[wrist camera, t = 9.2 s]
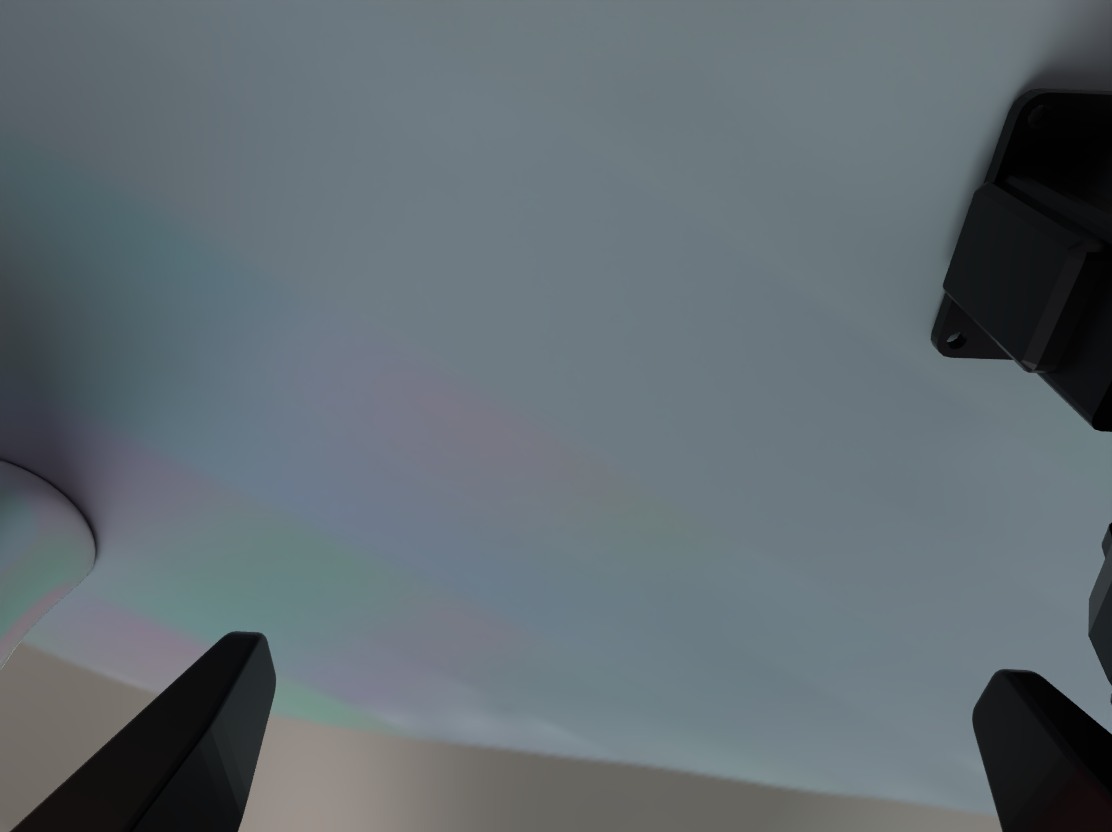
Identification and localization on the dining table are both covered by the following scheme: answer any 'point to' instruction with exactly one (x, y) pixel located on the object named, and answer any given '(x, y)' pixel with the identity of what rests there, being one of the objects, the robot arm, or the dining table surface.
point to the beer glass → (36, 552)
